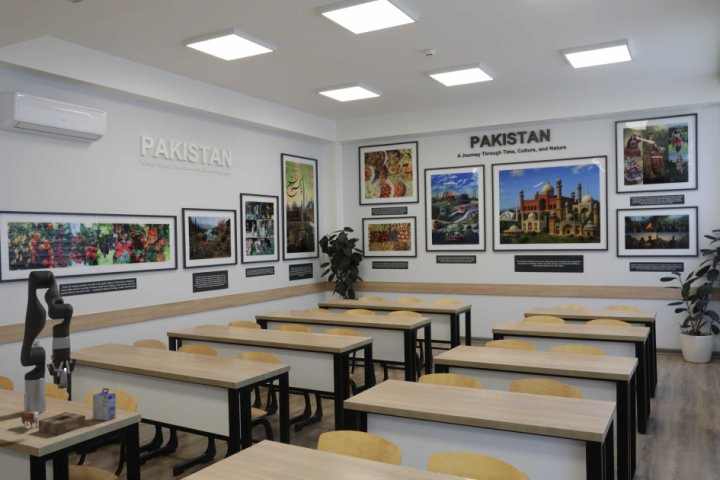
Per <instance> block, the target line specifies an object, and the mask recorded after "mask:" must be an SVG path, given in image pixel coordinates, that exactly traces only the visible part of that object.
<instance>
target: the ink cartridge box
mask: <svg viewBox="0 0 720 480" xmlns="http://www.w3.org/2000/svg"><path fill="white" fill-rule="evenodd" d="M105 390H106V391H105ZM109 391H110V388H105V387H104V388H103V389H102V390H101V392H97V393H94V394H92V420H99V421H101V420H102V421H107V422H108V421H110V420H113V419H116V418H117V417H116V416H117V414H116V413H117V412H116V409H117V407H116V405H117V404H116V395H117V394H116V392H115V393H114V392H109Z"/></svg>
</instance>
